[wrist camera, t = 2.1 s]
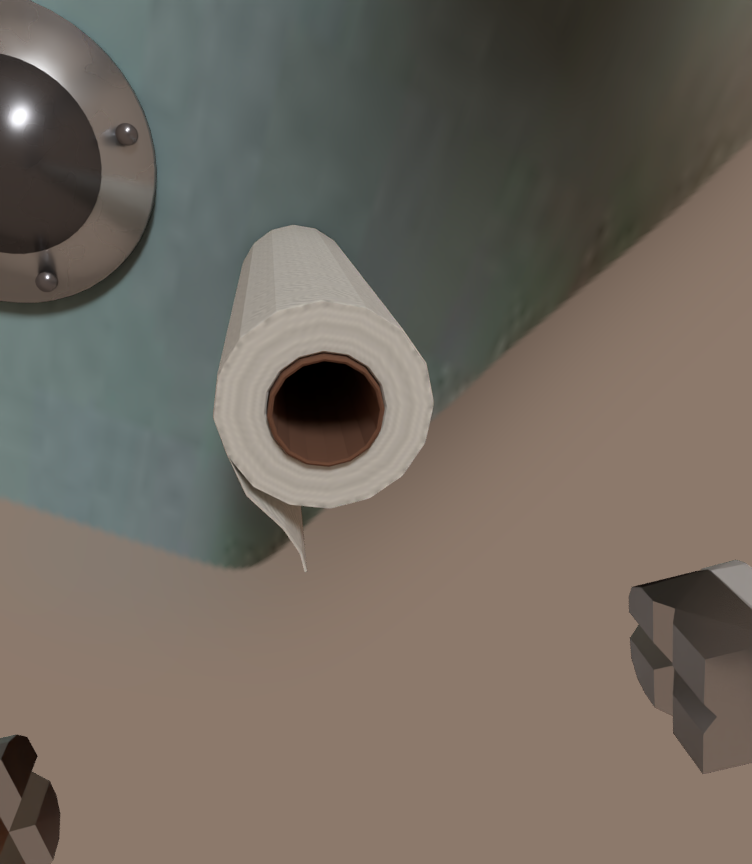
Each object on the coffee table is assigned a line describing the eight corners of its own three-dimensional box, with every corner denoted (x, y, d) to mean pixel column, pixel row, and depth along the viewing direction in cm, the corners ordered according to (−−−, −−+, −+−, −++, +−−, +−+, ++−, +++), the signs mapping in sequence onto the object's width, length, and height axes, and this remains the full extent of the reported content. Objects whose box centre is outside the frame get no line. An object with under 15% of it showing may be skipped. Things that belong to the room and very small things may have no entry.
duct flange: (105, -33, 32) (99, -40, 31) (189, 270, 37) (187, 274, 36) (-209, 21, 31) (-227, 16, 30) (-75, 324, 36) (-86, 329, 35)
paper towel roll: (291, 199, 37) (319, 250, 17) (373, 277, 39) (481, 403, 19) (203, 299, 38) (135, 455, 18) (287, 370, 40) (306, 577, 20)
